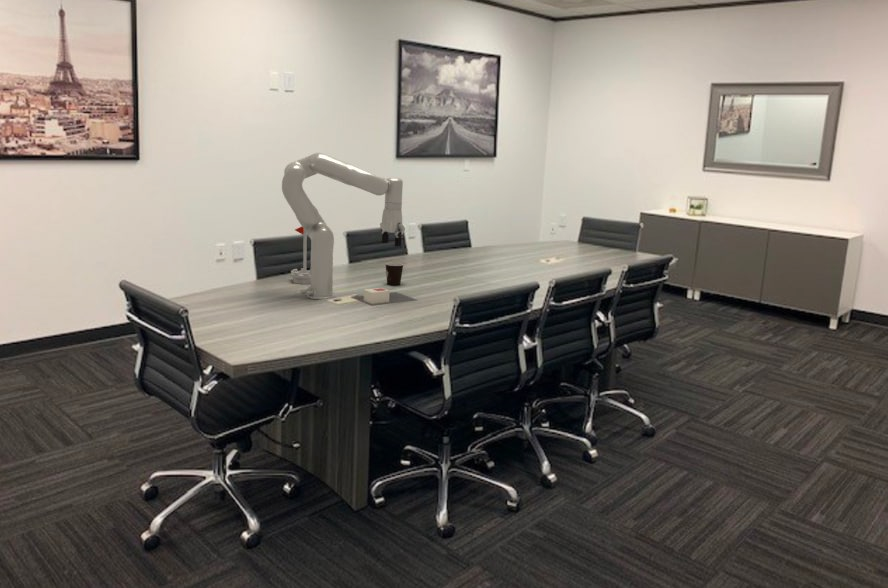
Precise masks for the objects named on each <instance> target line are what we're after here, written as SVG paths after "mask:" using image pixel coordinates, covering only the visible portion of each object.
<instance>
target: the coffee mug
mask: <svg viewBox="0 0 888 588" xmlns="http://www.w3.org/2000/svg"><path fill="white" fill-rule="evenodd" d="M403 267H404V264H403V263H400V262H387V263H385V271H386V272H385V273H386V284H387V286H391V287H392V286H394V287H396V286H397V287H398V286H401V282H402V275H403V271H404V268H403Z"/></svg>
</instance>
